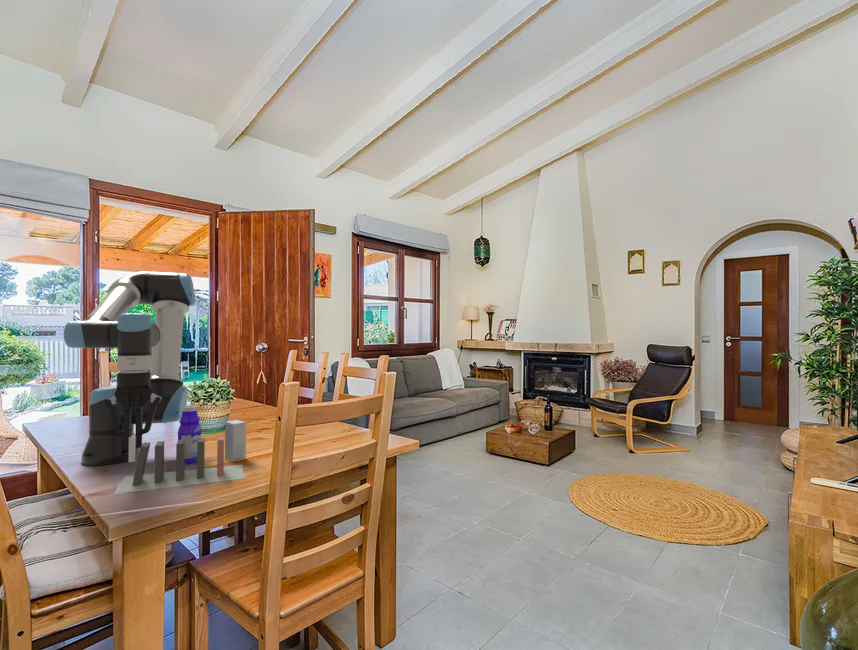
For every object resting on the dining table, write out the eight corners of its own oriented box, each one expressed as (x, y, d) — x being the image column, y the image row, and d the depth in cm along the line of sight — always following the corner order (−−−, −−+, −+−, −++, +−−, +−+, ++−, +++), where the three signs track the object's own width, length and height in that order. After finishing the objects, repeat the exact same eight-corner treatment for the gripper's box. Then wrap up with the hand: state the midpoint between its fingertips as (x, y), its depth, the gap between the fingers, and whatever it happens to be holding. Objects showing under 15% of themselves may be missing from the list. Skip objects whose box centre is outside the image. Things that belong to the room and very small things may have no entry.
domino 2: (154, 483, 119) (154, 445, 119) (157, 478, 124) (157, 441, 124) (161, 483, 120) (161, 445, 120) (163, 477, 124) (164, 441, 125)
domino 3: (175, 481, 121) (176, 444, 121) (177, 475, 126) (178, 439, 126) (182, 480, 122) (183, 443, 122) (184, 475, 126) (184, 439, 127)
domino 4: (196, 479, 123) (197, 442, 123) (197, 473, 128) (198, 438, 128) (203, 478, 124) (203, 441, 124) (204, 472, 128) (204, 437, 129)
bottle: (192, 466, 136) (193, 408, 136) (173, 466, 136) (174, 408, 136) (204, 459, 143) (204, 404, 144) (186, 459, 143) (187, 404, 144)
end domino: (217, 476, 125) (217, 440, 125) (217, 471, 130) (217, 436, 130) (223, 475, 126) (223, 440, 126) (223, 470, 131) (224, 436, 131)
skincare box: (246, 460, 143) (246, 422, 143) (232, 462, 140) (233, 424, 140) (237, 456, 147) (237, 419, 147) (224, 459, 144) (224, 421, 144)
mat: (113, 495, 112) (113, 493, 112) (125, 478, 125) (125, 477, 125) (243, 479, 124) (243, 478, 124) (242, 465, 137) (242, 464, 137)
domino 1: (132, 485, 117) (140, 446, 118) (135, 479, 122) (143, 442, 123) (139, 485, 118) (147, 447, 119) (142, 479, 122) (150, 442, 123)
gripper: (100, 373, 114) (99, 467, 113) (160, 371, 119) (159, 461, 118) (108, 371, 121) (107, 459, 120) (164, 369, 126) (163, 454, 125)
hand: (132, 460), depth 119 cm, fingers closed
